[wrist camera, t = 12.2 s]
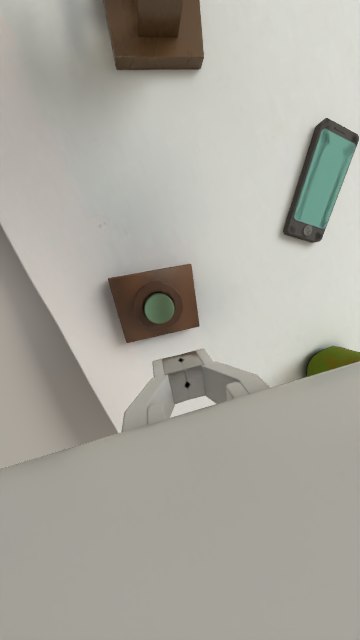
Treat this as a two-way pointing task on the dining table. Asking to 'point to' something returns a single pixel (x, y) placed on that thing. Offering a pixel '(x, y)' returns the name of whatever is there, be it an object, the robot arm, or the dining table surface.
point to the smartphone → (320, 180)
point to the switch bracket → (155, 33)
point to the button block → (140, 286)
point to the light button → (159, 308)
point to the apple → (331, 360)
